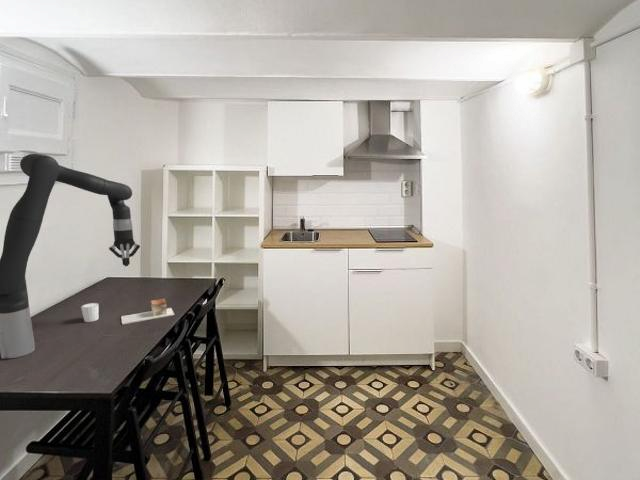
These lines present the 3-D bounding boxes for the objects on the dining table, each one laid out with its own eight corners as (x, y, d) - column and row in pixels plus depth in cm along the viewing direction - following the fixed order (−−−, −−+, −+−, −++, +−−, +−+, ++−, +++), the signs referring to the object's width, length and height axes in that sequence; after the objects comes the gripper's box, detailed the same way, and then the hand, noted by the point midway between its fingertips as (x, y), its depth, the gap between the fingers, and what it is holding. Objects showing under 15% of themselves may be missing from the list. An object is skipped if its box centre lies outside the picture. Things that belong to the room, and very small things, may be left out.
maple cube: (166, 302, 167) (167, 314, 168) (164, 298, 172) (165, 310, 173) (152, 304, 164) (153, 316, 165) (150, 300, 169) (151, 312, 170)
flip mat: (122, 324, 157) (122, 323, 157) (121, 317, 165) (121, 316, 165) (174, 315, 168) (174, 314, 168) (171, 308, 176) (171, 307, 176)
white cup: (93, 322, 159) (92, 308, 158) (79, 322, 159) (77, 307, 158) (103, 316, 166) (101, 302, 165) (89, 316, 166) (87, 302, 165)
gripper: (106, 230, 152) (109, 269, 155) (139, 228, 159) (143, 265, 162) (106, 228, 158) (109, 265, 161) (138, 226, 165) (141, 262, 168)
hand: (126, 265), depth 161 cm, fingers closed
